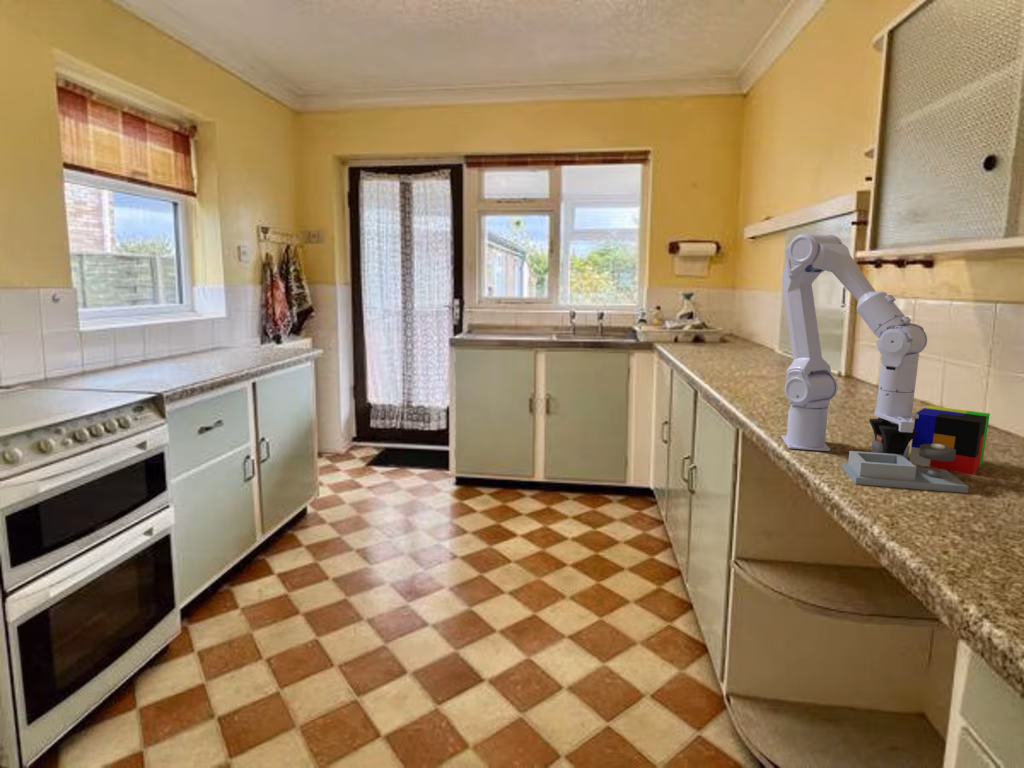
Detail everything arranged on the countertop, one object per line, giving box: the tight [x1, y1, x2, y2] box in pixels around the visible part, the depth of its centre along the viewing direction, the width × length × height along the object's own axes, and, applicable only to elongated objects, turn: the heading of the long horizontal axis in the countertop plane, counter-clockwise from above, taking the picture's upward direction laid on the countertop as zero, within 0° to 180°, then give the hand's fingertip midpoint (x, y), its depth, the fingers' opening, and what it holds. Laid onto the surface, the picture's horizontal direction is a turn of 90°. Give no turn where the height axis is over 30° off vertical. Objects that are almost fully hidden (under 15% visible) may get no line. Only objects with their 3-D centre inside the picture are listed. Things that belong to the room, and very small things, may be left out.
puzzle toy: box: [909, 405, 991, 476], centre depth 117 cm, size 10×10×10 cm
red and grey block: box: [870, 434, 910, 461], centre depth 115 cm, size 4×5×6 cm
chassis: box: [841, 450, 970, 494], centre depth 108 cm, size 9×17×4 cm, turn 75°
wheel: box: [919, 444, 956, 461], centre depth 106 cm, size 5×5×2 cm
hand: (888, 460), depth 115 cm, fingers closed on red and grey block, 4 cm apart
